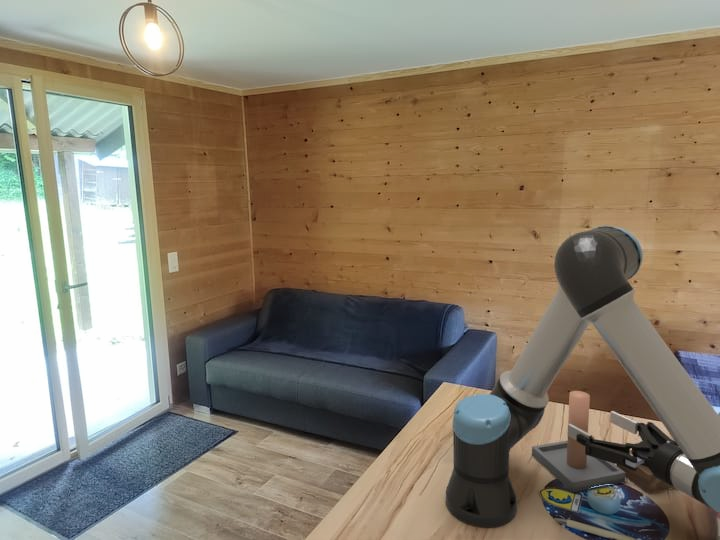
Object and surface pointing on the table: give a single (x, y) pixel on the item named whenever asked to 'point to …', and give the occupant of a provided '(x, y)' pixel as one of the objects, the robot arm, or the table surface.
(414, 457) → the table surface
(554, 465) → the tray
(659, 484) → the socket block
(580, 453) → the dowel
